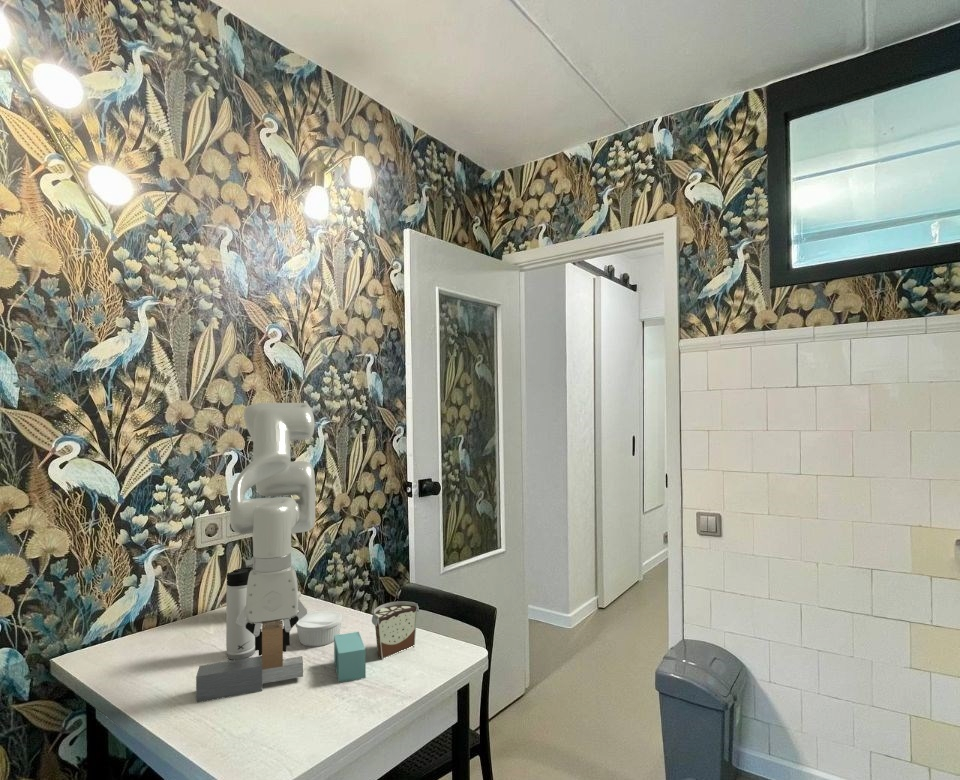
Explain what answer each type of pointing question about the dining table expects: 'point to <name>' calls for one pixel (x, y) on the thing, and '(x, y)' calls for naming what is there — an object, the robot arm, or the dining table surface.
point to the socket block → (349, 657)
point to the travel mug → (237, 637)
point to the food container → (395, 627)
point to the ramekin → (319, 627)
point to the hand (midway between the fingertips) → (272, 650)
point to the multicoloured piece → (277, 655)
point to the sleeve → (229, 678)
